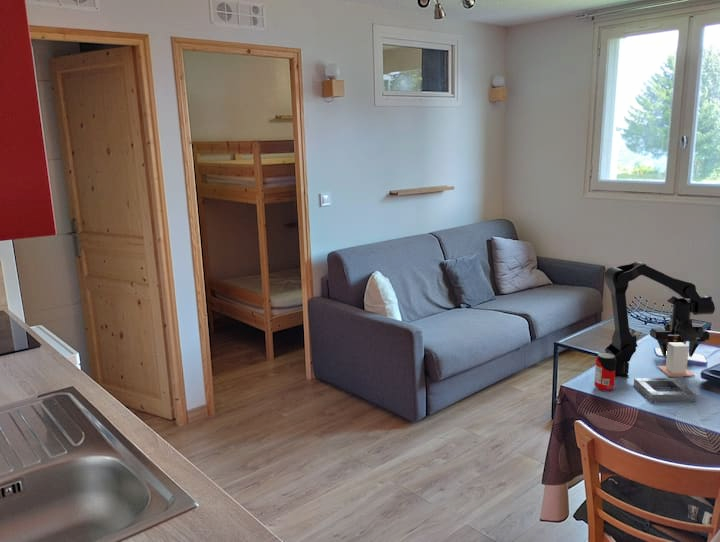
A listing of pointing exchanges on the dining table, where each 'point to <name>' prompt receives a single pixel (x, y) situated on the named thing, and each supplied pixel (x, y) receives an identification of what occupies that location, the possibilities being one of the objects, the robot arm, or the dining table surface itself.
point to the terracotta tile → (668, 373)
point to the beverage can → (605, 371)
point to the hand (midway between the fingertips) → (677, 356)
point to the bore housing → (678, 396)
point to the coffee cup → (672, 338)
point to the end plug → (677, 357)
